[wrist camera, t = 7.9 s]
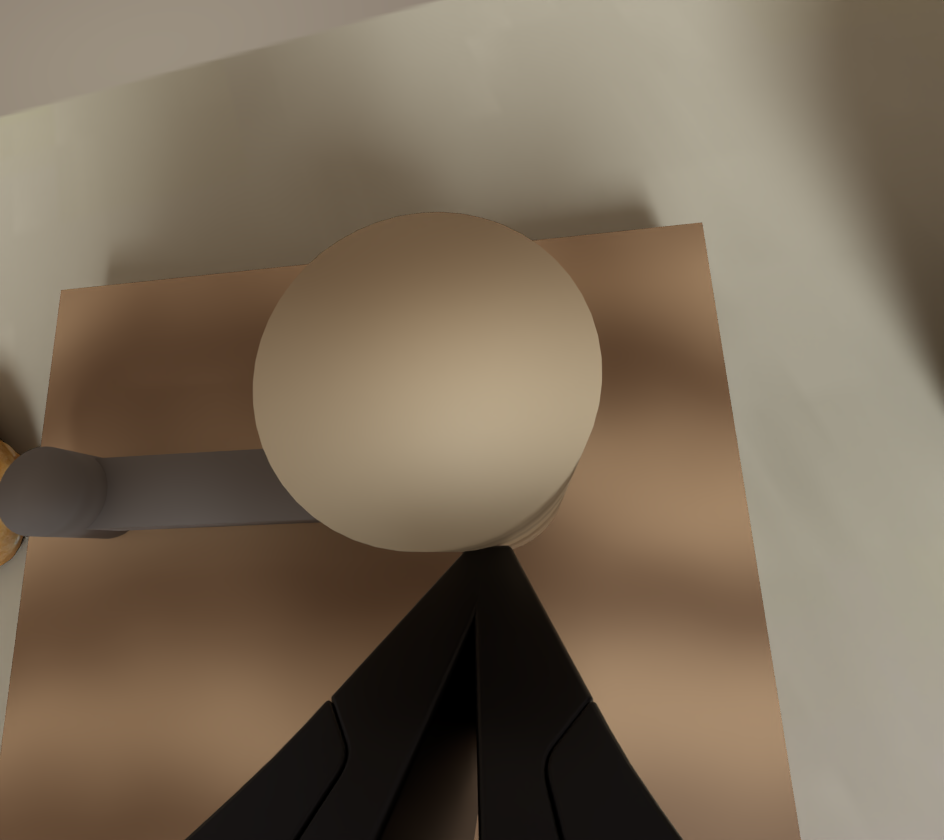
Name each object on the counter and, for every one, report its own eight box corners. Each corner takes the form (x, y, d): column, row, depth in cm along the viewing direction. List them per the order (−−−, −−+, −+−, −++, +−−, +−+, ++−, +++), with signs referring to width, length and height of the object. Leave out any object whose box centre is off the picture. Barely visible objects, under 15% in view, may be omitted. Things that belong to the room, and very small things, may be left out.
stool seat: (785, 992, 16) (848, 1106, 12) (55, 972, 18) (-51, 1063, 15) (679, 268, 21) (704, 217, 18) (121, 323, 23) (54, 286, 20)
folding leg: (568, 549, 16) (618, 544, 6) (68, 566, 17) (-580, 587, 7) (558, 410, 17) (587, 196, 7) (84, 439, 18) (-473, 301, 8)
